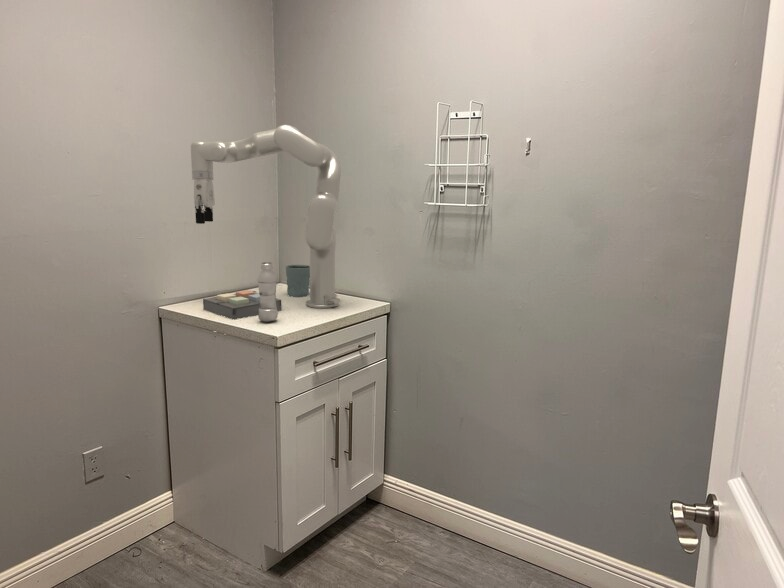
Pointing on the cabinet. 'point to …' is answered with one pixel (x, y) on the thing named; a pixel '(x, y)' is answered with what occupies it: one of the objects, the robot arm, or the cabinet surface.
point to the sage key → (238, 300)
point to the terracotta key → (244, 293)
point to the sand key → (225, 297)
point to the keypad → (234, 308)
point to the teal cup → (298, 280)
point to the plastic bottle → (267, 293)
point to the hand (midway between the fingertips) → (204, 222)
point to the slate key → (254, 297)
